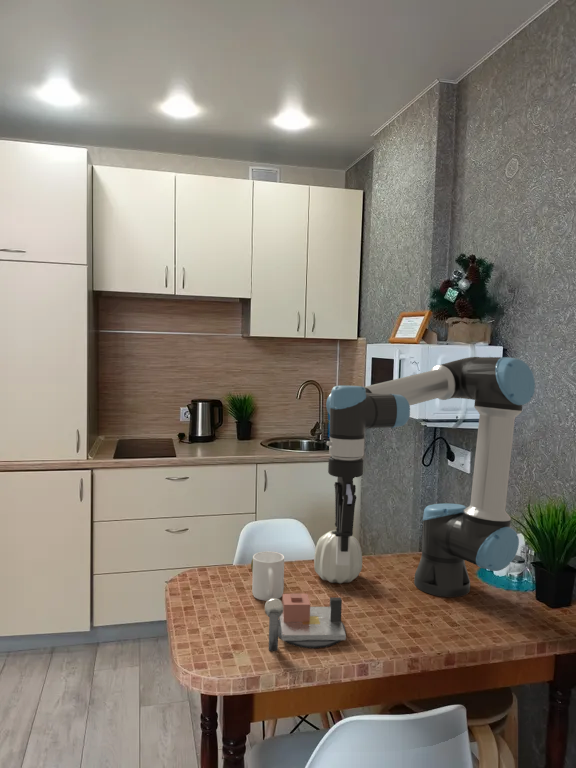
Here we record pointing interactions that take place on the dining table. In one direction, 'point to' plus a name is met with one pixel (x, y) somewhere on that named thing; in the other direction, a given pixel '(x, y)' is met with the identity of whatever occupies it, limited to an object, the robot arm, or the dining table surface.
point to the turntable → (316, 624)
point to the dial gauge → (273, 621)
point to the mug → (268, 575)
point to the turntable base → (310, 641)
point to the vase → (327, 559)
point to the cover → (296, 608)
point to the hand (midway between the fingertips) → (342, 563)
